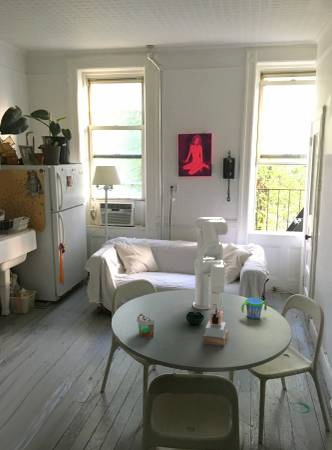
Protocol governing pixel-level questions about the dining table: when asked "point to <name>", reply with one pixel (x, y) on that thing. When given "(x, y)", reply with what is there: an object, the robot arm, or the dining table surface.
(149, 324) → the food container
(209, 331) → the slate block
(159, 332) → the dining table surface
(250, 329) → the dining table surface
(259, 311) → the snack cup
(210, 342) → the walnut slab
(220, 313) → the terracotta cube
